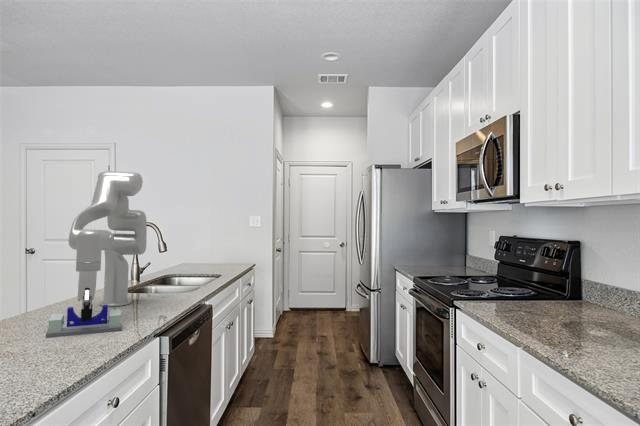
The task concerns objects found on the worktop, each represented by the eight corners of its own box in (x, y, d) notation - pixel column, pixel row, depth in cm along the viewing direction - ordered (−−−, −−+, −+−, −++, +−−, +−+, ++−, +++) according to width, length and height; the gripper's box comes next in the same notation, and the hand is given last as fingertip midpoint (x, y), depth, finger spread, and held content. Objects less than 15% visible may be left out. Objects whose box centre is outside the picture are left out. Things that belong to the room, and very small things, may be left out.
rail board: (50, 328, 139) (50, 313, 139) (120, 322, 149) (121, 308, 150) (45, 337, 128) (46, 321, 129) (122, 330, 139) (122, 315, 139)
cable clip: (107, 320, 144) (107, 303, 144) (107, 323, 140) (107, 306, 140) (67, 323, 138) (68, 306, 138) (66, 327, 134) (67, 309, 134)
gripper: (77, 264, 145) (75, 314, 145) (74, 269, 130) (72, 325, 130) (101, 263, 149) (99, 312, 148) (100, 269, 134) (98, 323, 133)
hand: (86, 318), depth 139 cm, fingers open, 5 cm apart
